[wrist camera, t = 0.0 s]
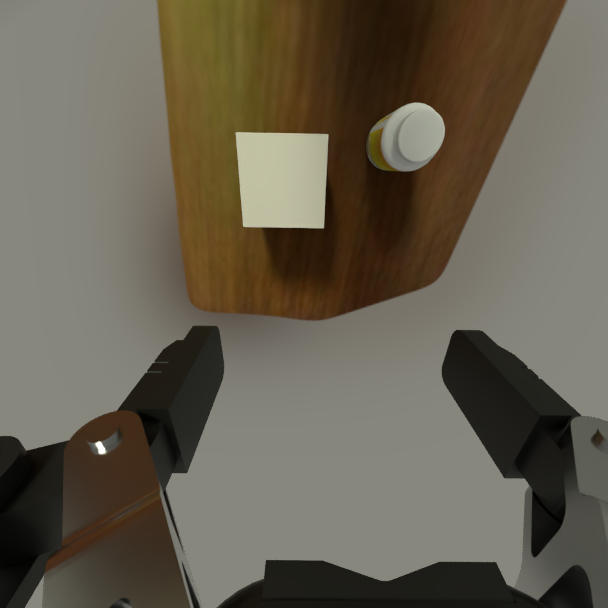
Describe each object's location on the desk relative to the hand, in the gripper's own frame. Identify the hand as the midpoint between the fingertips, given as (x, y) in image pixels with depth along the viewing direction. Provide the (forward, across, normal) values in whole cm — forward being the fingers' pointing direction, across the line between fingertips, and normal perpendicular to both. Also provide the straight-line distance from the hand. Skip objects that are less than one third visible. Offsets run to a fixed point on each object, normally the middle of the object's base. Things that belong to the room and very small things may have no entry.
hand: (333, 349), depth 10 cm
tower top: (+25, +3, -4) cm, 26 cm away
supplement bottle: (+30, -9, -8) cm, 32 cm away
